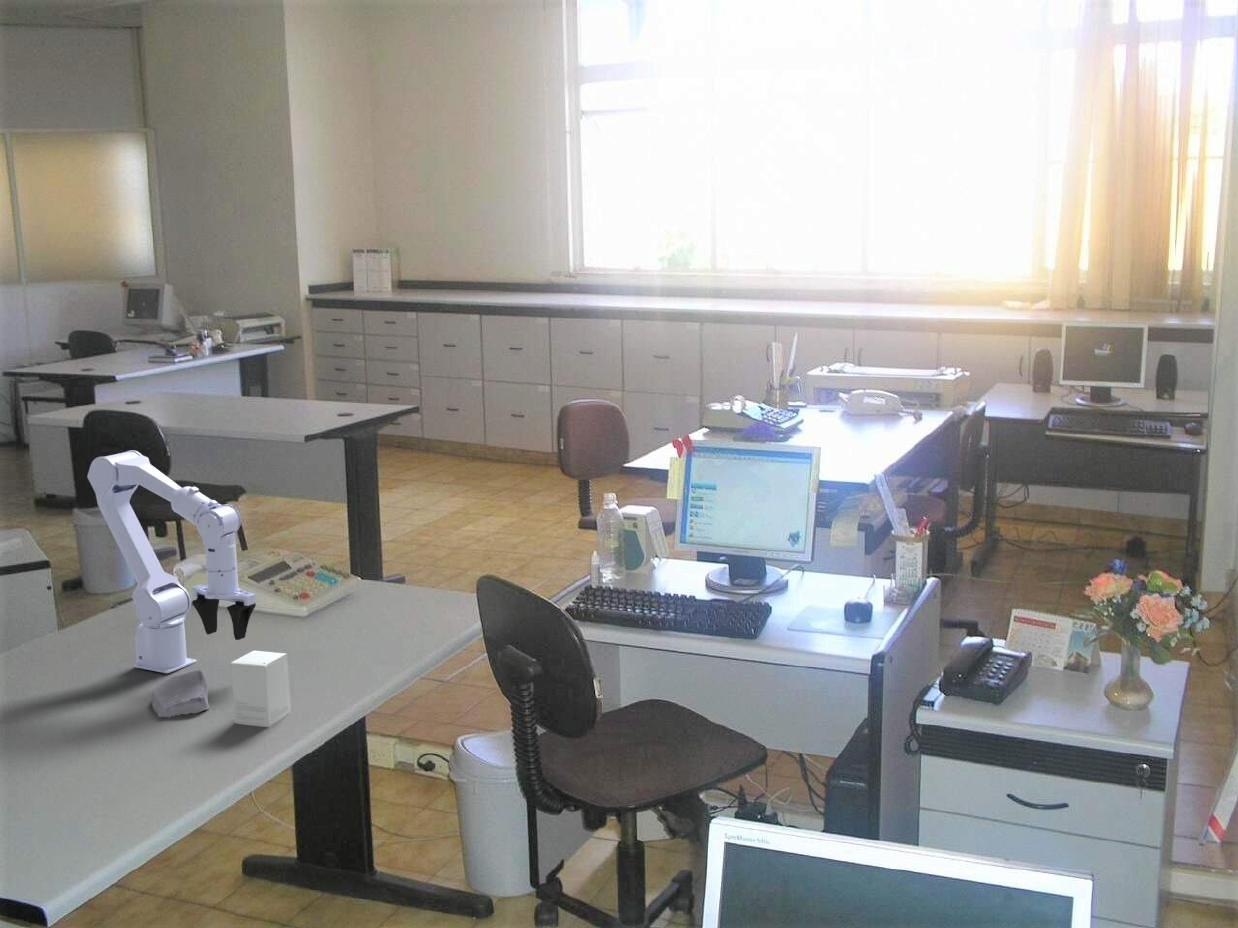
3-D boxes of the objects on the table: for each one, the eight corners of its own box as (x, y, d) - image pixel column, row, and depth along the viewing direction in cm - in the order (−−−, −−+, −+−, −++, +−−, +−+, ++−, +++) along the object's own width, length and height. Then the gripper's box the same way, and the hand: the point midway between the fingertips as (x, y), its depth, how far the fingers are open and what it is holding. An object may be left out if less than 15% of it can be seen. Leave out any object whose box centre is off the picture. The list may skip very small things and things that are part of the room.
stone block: (150, 674, 235) (206, 667, 238) (153, 698, 237) (209, 690, 240) (148, 702, 225) (207, 694, 227) (151, 727, 226) (209, 718, 229)
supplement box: (293, 719, 228) (289, 652, 226) (269, 734, 221) (264, 665, 219) (258, 715, 230) (254, 649, 228) (233, 729, 224) (229, 661, 221)
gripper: (178, 568, 243) (183, 635, 246) (234, 577, 237) (238, 646, 239) (206, 560, 249) (210, 626, 252) (261, 569, 243) (264, 636, 245)
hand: (225, 635), depth 246 cm, fingers open, 7 cm apart
